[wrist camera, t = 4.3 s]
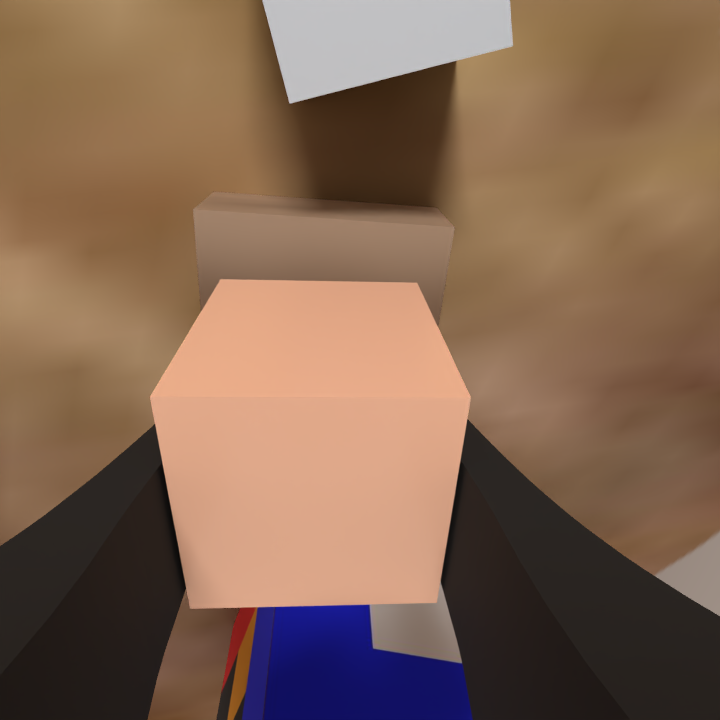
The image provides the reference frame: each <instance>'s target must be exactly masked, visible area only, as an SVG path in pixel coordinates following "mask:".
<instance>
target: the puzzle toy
mask: <svg viewBox="0 0 720 720" xmlns="http://www.w3.org/2000/svg"><path fill="white" fill-rule="evenodd" d="M217 720H473V719H472V713H471V708H470V702H469V697H468V691H467V686H466V680H465V675H464V669H463V665H462V660H461V656H460V652H459V647H458V643H457V639H456V636H455V632H454V629H453V625H452V621H451V618H450V614H449V610H448V607H447V603H446V600H445V596H444V592H443V589H442V585H441V582H440V587H439V593H438V599H437V603H411V604H369V605H327V606H285V607H243V608H240V610H239V612H238V615H237V618H236V620H235V623H234V626H233V631H232V637H231V642H230V648H229V653H228V659H227V664H226V670H225V675H224V681H223V687H222V692H221V698H220V703H219V709H218V714H217Z"/></svg>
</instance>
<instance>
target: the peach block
mask: <svg viewBox="0 0 720 720" xmlns="http://www.w3.org/2000/svg"><path fill="white" fill-rule="evenodd" d="M150 399H151V405H152V410H153V415H154V421H155V426H156V431H157V436H158V442H159V447H160V452H161V458H162V463H163V468H164V473H165V479H166V484H167V489H168V495H169V500H170V505H171V510H172V516H173V521H174V526H175V531H176V537H177V542H178V547H179V553H180V558H181V563H182V568H183V574H184V579H185V584H186V590H187V595H188V600H189V605H190V609H201V608H243V607H285V606H327V605H369V604H411V603H437V599H438V593H439V587H440V581H441V574H442V568H443V562H444V556H445V550H446V544H447V538H448V532H449V526H450V520H451V514H452V508H453V502H454V496H455V490H456V484H457V478H458V472H459V466H460V460H461V454H462V448H463V442H464V436H465V430H466V424H467V418H468V412H469V406H470V400H471V397H470V395H469V393H468V391H467V388H466V386H465V384H464V382H463V380H462V378H461V376H460V373H459V371H458V369H457V367H456V365H455V363H454V361H453V358H452V356H451V354H450V352H449V350H448V348H447V346H446V343H445V341H444V339H443V337H442V335H441V333H440V331H439V328H438V326H437V324H436V322H435V320H434V318H433V316H432V313H431V311H430V309H429V307H428V305H427V303H426V301H425V298H424V296H423V294H422V292H421V290H420V288H419V286H418V283H406V282H350V281H293V280H237V279H220V281H219V283H218V284H217V286H216V288H215V289H214V291H213V293H212V294H211V296H210V298H209V299H208V301H207V303H206V304H205V306H204V308H203V309H202V311H201V313H200V314H199V316H198V318H197V319H196V321H195V323H194V324H193V326H192V328H191V329H190V331H189V333H188V334H187V336H186V338H185V339H184V341H183V343H182V344H181V346H180V348H179V349H178V351H177V353H176V354H175V356H174V358H173V359H172V361H171V363H170V364H169V366H168V368H167V369H166V371H165V373H164V374H163V376H162V378H161V379H160V381H159V383H158V384H157V386H156V388H155V389H154V391H153V393H152V394H151V396H150Z"/></svg>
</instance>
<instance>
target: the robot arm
mask: <svg viewBox="0 0 720 720" xmlns="http://www.w3.org/2000/svg"><path fill="white" fill-rule="evenodd" d="M440 582H441V585H442V589H443V592H444V596H445V600H446V603H447V607H448V610H449V614H450V618H451V621H452V625H453V629H454V632H455V636H456V639H457V643H458V647H459V652H460V656H461V660H462V665H463V669H464V675H465V680H466V686H467V691H468V697H469V702H470V708H471V713H472V719H473V720H720V616H718V615H717V614H715V613H713V612H712V611H710V610H708V609H706V608H705V607H703V606H701V605H700V604H698V603H696V602H695V601H693V600H691V599H690V598H688V597H686V596H685V595H683V594H682V593H680V592H679V591H677V590H675V589H674V588H672V587H671V586H669V585H668V584H666V583H664V582H663V581H661V580H660V579H658V578H657V577H655V576H653V575H652V574H650V573H649V572H647V571H646V570H644V569H643V568H641V567H640V566H638V565H637V564H635V563H634V562H632V561H631V560H629V559H628V558H626V557H625V556H624V555H622V554H621V553H619V552H618V551H617V550H615V549H614V548H613V547H611V546H610V545H608V544H607V543H606V542H604V541H603V540H602V539H600V538H599V537H598V536H596V535H595V534H593V533H592V532H591V531H589V530H588V529H587V528H585V527H584V526H583V525H582V524H580V523H579V522H578V521H576V520H575V519H574V518H573V517H571V516H570V515H569V514H568V513H566V512H565V511H564V510H563V509H562V508H561V507H559V506H558V505H557V504H556V503H555V502H553V501H552V500H551V499H550V498H549V497H548V496H546V495H545V494H544V493H543V492H542V491H541V490H539V489H538V488H537V487H536V486H535V485H534V484H533V483H532V482H531V481H529V480H528V479H527V478H526V477H525V476H524V475H523V474H522V473H521V472H520V471H519V470H518V469H517V468H516V467H515V466H513V465H512V464H511V463H510V462H509V461H508V460H507V459H506V458H505V457H504V456H503V455H502V454H501V453H500V452H499V451H498V450H497V449H496V448H495V447H494V446H493V445H492V444H491V443H490V442H489V441H488V440H487V439H486V438H485V437H484V436H483V435H482V434H481V433H480V432H479V431H478V430H477V429H476V428H475V427H474V425H473V424H472V423H471V422H470V421H469V420H468V419H467V424H466V430H465V436H464V442H463V448H462V454H461V460H460V466H459V472H458V478H457V484H456V490H455V496H454V502H453V508H452V514H451V520H450V526H449V532H448V538H447V544H446V550H445V556H444V562H443V568H442V574H441V581H440ZM185 589H186V584H185V579H184V574H183V568H182V563H181V558H180V553H179V547H178V542H177V537H176V531H175V526H174V521H173V516H172V510H171V505H170V500H169V495H168V489H167V484H166V479H165V473H164V468H163V463H162V458H161V452H160V447H159V442H158V436H157V431H156V426H155V425H154V426H152V427H151V428H150V429H149V430H148V431H147V432H146V433H144V434H143V435H142V436H141V437H140V438H139V439H138V440H137V441H135V442H134V443H133V444H132V445H131V446H130V447H129V448H127V449H126V450H125V451H124V452H123V453H122V454H120V455H119V456H118V457H117V458H116V459H115V460H113V461H112V462H111V463H110V464H109V465H107V466H106V467H105V468H104V469H103V470H102V471H100V472H99V473H98V474H97V475H96V476H94V477H93V478H92V479H91V480H89V481H88V482H87V483H86V484H84V485H83V486H82V487H80V488H79V489H78V490H77V491H75V492H74V493H73V494H71V495H70V496H69V497H68V498H66V499H65V500H64V501H62V502H61V503H60V504H59V505H57V506H56V507H55V508H53V509H52V510H51V511H50V512H48V513H47V514H46V515H44V516H43V517H42V518H40V519H39V520H37V521H36V522H35V523H33V524H32V525H30V526H29V527H28V528H26V529H25V530H23V531H22V532H20V533H19V534H18V535H16V536H15V537H13V538H12V539H10V540H9V541H7V542H6V543H4V544H3V545H1V546H0V720H147V719H148V714H149V710H150V706H151V702H152V697H153V693H154V689H155V685H156V680H157V676H158V673H159V670H160V666H161V663H162V659H163V656H164V652H165V649H166V646H167V643H168V640H169V637H170V634H171V631H172V628H173V625H174V622H175V619H176V616H177V613H178V610H179V607H180V604H181V601H182V598H183V595H184V592H185Z"/></svg>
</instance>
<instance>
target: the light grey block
mask: <svg viewBox="0 0 720 720" xmlns="http://www.w3.org/2000/svg"><path fill="white" fill-rule="evenodd" d="M263 4H264V8H265V12H266V16H267V19H268V23H269V27H270V31H271V35H272V38H273V42H274V46H275V50H276V54H277V58H278V61H279V65H280V69H281V73H282V77H283V80H284V84H285V88H286V92H287V96H288V100H289V103H294V102H298V101H302V100H306V99H310V98H313V97H317V96H321V95H325V94H329V93H333V92H337V91H341V90H344V89H348V88H352V87H356V86H360V85H364V84H368V83H372V82H376V81H379V80H383V79H387V78H391V77H395V76H399V75H403V74H407V73H410V72H414V71H418V70H422V69H426V68H430V67H434V66H438V65H441V64H445V63H449V62H453V61H457V60H461V59H465V58H469V57H472V56H476V55H480V54H484V53H488V52H492V51H496V50H500V49H503V48H507V47H511V46H513V41H512V26H511V10H510V0H263Z"/></svg>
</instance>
